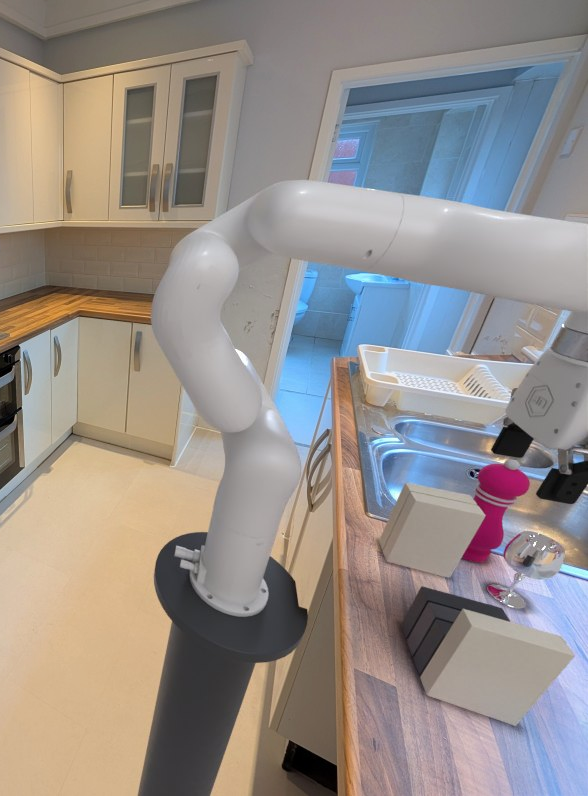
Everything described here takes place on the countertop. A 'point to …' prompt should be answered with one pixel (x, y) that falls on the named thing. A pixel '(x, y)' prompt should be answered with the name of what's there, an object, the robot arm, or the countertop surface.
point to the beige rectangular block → (430, 529)
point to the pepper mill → (495, 505)
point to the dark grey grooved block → (437, 621)
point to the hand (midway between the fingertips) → (528, 475)
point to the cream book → (494, 666)
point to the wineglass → (528, 564)
